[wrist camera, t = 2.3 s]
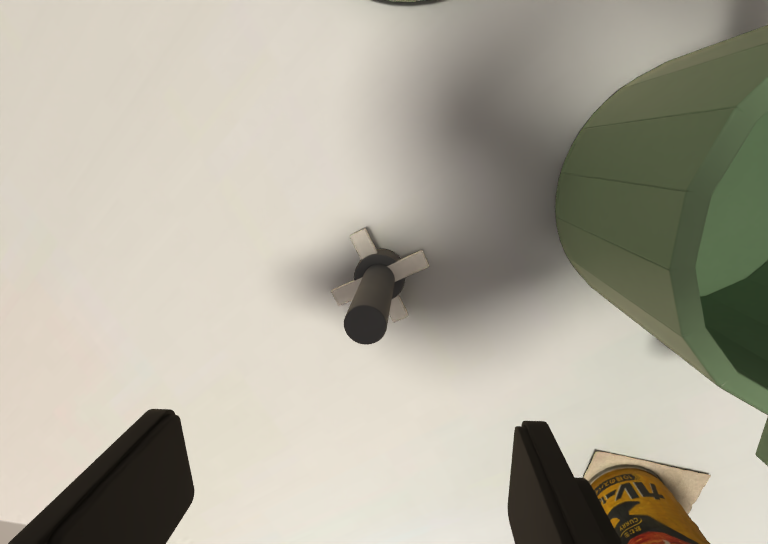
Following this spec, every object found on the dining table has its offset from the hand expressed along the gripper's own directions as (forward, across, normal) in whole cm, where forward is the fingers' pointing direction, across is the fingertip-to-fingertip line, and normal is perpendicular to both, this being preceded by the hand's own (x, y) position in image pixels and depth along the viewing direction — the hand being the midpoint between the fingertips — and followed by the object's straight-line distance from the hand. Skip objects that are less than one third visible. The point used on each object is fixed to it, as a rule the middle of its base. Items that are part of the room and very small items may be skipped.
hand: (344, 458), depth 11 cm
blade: (+16, 0, -1) cm, 16 cm away
